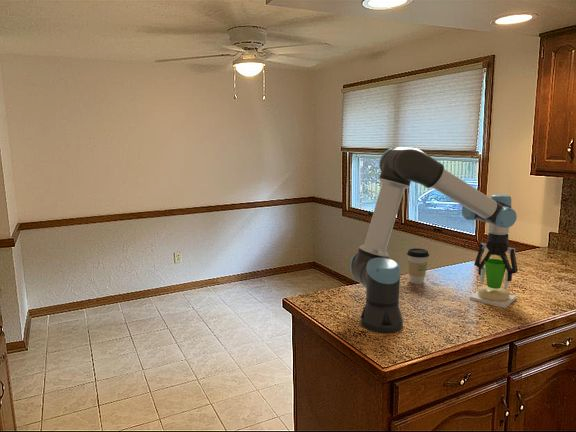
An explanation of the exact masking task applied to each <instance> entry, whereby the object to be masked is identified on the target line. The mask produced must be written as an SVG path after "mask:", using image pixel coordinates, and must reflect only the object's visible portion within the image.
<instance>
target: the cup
mask: <svg viewBox="0 0 576 432" xmlns="http://www.w3.org/2000/svg"><path fill="white" fill-rule="evenodd" d="M484 261H485V260H484ZM505 265H506V264H504V263H503V260H502V258H495V257H494V258H493V257H491V258H489V259H488V260H487V261H485V265H484V268H485V277H486V278H485V279H486V286H488V287H490V288H494V289H499V288H500V287H501V288H502V284H503V281H504V278H505V274H506V271H507V270H506V268H505Z"/></svg>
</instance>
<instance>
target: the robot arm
mask: <svg viewBox="0 0 576 432" xmlns="http://www.w3.org/2000/svg"><path fill="white" fill-rule="evenodd" d="M378 163H379V164H378V165H379V169H380V174H379V181H380V183H381V186H380V189H379V192H378V197H377V199H376V203H375V206H374V211H373V213H372V215H371V219H370V223H369V228H368V230H367V234H366V237H365V240H364V244H362V245H360V246H359V247H358V251H357V252H356V253H355V254H353V256H352V257H351V260H350V263H349V268H350V269H349V270H350V272H351V275H352V276H353V278H354V279H356V281H357V282H359V283H360V284H361V285H362V286H364V287H365V289H366V291H365V304H364V306H363V310H362V312H361V314H360V325H361V327H363V328H364V329H366V330H369V331H371V332H375V333H381V334H382V333H384V334H387V333H395V332H398V331H400V330H402V329H403V327H404V318H403V315H402V312H401V308H400V289H401V288H400V286H401V285H400V284H401V277H402V275H401V266H400V265H399V263H398V262H397V261H395V260H393V259H389V256H390V254H389V253H388V251H387V248H388V245H389V241H390V238H391V236H392V231H393V228H394V225H395V221H396V219H397V215H398V212H399V209H400V204H401V203H402V198H403V195H404V192H405V190H406V189H408V188H410V186H411V182H413V183H416V184H419V185H422V186H423V187H425V188H427V189H430V188H432V189H433V190H435V191H437V192H439V193H441V194H442V195H444V196H445V197H447V198H449V199H451V200H452V201H454V202H456V203H457V204H459V205H460V206H462V207H461V214H462V216H463V218H464V219H465V220H467V221H479V222H483V223H487V224H488V234H487V243H484V242H481V243H480V244H479V245H478V252H477V255H476V258H475V261H474V266H475V267H477V268H478V272H477V273H478V276H480V279H479V284H480V285H483V284H484V283H485V277H486V268H485V261H487V260H488V259H489V258H490V257H491V256H492V255H493V256H498V257H500V259H502V260H503V263H504V264H506V265H505V268H506V270H505V271H506V272H505V274H504V286H503V287H504V289H506V290H508V289H509V286H510V282H512V279H513V274H516V273H518V272H519V271H518V270H519V269H518V263H517V257H516V251H517V248H515V247H513V248H512V247H510V246H509V244H508V243H509V233H510V227H513V226H514V225H515V223H516V221H517V218H518V217H517V212H516V211H515V209H513V208H512V197H511V196H510V195H507V194H492V195H491V197H490V196H488V195H486V194H485V193H483V192H481V191H480V190H478V189H477V188H475V187H474V186H472V185H471V184H469V183H467V182H465V181H464V180H463V179H462V178H461V179H460V178H459V177H458V176H457V175H454V174H453V173H451V172H450V171H448V170H446V169H445V166H444V164H443V163H442V162H440V161H438V160H436V159H435V158H433V157H432V156H430V155H429V154H427V153H426V152H424V151H423V150H421V149H419V148H414V147H402V146H395V147H391V148H388V149H387V150H385V151H383V153H382V154H381V156H380V159H379V162H378ZM485 249H487V250H488V251H487V252H486V255H485V256H484V257H483V254H484V251H485ZM507 251H508V254H509V258H510V261H509V259H508V256H507V255H508V254H507V253H506V252H507ZM482 258H483V259H482ZM484 260H485V261H484ZM510 263H511V264H510Z"/></svg>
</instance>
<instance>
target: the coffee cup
mask: <svg viewBox="0 0 576 432" xmlns="http://www.w3.org/2000/svg"><path fill="white" fill-rule="evenodd" d="M406 255H407V257H408V258H407V262H408V263H407V265H408V275H409V282H410V283H411V284H415V285H417V284H418V285H420V284H424V282H425V276H426V272H427V266H428V258H429V257H430V254H429V251H428V250H427V249H424V248H409V249H408V251H407V254H406Z"/></svg>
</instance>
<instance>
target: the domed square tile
mask: <svg viewBox="0 0 576 432" xmlns="http://www.w3.org/2000/svg"><path fill="white" fill-rule="evenodd" d="M469 300H471V301H475V302H479V303H483V304H486V305H491V306H496V307H500V308H503V309H506V308H507V307H508V306H510V304H512V303H513V302H514V301H515V300H517V295H514V294H510V291H509V290H508V289H504V288H503V287H502V286H501V287H500V288H499V289H494V288H490V287H488V286H487V285H482V286H479V287H478V288H477V291H476V292H474V293H473V294H471V295H470V296H469Z"/></svg>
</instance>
